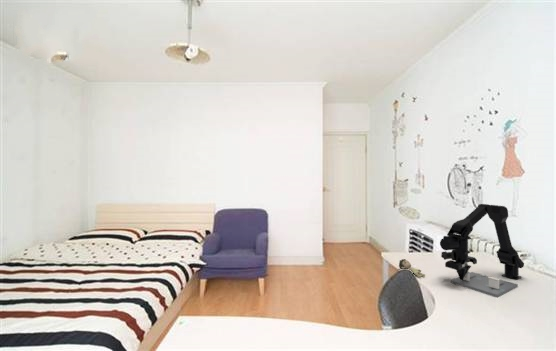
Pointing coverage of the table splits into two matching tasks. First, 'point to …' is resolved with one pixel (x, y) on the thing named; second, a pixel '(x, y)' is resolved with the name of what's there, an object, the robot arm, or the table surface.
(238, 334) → the table surface
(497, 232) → the robot arm
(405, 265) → the figurine
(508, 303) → the table surface
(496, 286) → the fader
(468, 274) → the fader
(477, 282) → the console
